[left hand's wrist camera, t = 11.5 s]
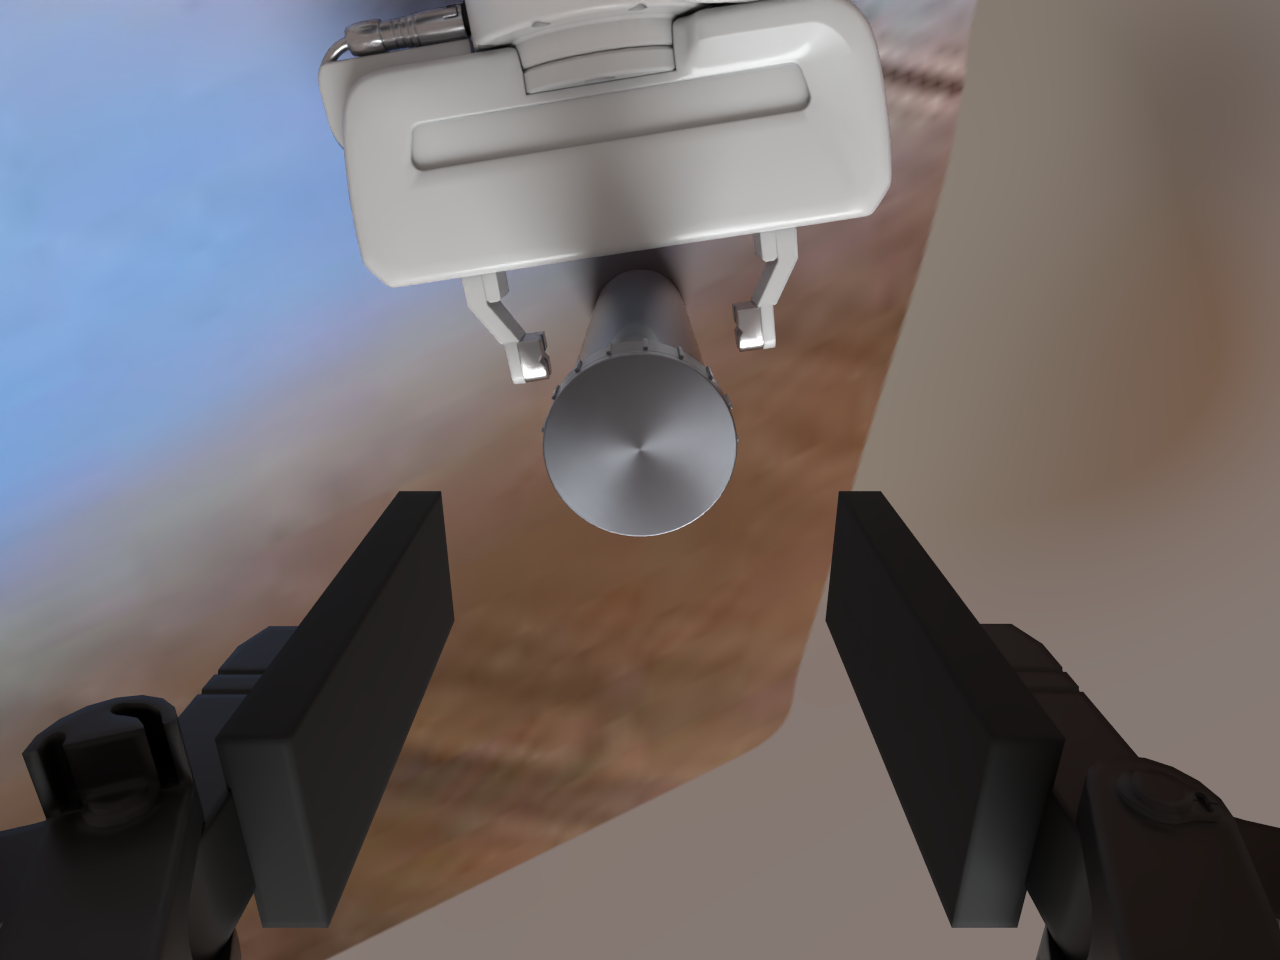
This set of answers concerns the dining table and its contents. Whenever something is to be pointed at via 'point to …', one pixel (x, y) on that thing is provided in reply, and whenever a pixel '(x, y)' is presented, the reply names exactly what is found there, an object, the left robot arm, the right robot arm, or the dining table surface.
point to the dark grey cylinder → (640, 314)
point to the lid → (640, 439)
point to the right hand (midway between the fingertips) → (643, 363)
